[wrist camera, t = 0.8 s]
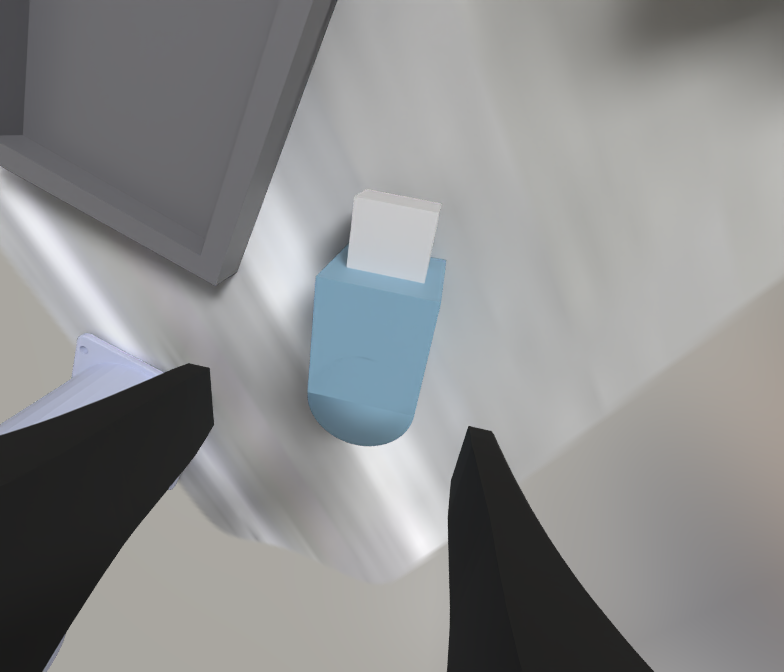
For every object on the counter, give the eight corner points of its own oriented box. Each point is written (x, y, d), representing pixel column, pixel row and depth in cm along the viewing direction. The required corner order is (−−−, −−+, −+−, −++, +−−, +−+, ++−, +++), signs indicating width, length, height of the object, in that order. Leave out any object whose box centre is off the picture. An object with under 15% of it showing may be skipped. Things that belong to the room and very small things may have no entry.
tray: (236, 271, 20) (215, 285, 18) (11, 144, 19) (-36, 145, 17) (386, -135, 13) (374, -179, 11) (32, -389, 11) (-47, -484, 10)
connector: (416, 388, 21) (404, 456, 17) (336, 371, 22) (304, 432, 17) (459, 200, 17) (459, 226, 12) (357, 181, 17) (321, 199, 13)
